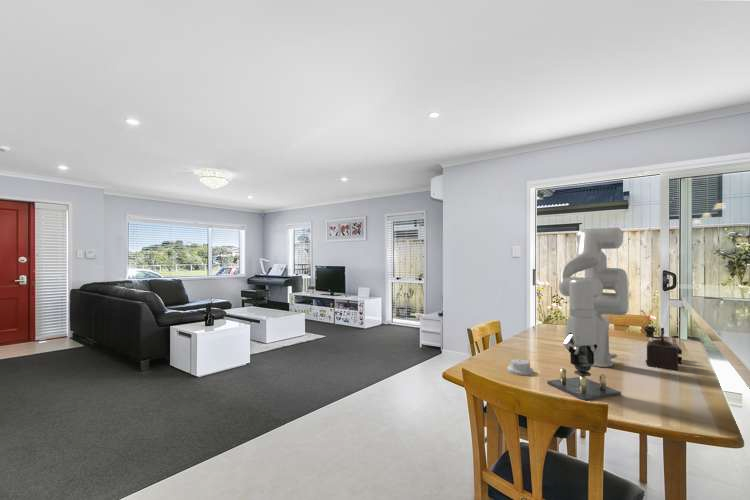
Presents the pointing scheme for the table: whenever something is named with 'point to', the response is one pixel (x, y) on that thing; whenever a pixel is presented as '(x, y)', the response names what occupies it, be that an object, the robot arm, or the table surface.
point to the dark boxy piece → (661, 351)
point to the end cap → (679, 357)
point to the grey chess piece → (583, 362)
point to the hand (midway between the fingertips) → (582, 363)
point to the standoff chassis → (584, 387)
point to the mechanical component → (520, 367)
